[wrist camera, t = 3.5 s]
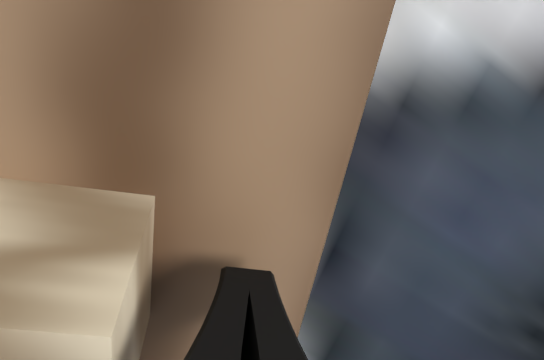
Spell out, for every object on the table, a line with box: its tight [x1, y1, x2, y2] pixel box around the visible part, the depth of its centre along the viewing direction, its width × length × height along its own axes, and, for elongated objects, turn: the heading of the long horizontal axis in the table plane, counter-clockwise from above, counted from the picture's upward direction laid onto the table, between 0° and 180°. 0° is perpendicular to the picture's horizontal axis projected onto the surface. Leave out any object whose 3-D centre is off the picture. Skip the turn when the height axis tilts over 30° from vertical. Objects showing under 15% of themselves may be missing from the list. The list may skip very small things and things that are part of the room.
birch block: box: [0, 178, 155, 360], centre depth 12 cm, size 4×4×4 cm
